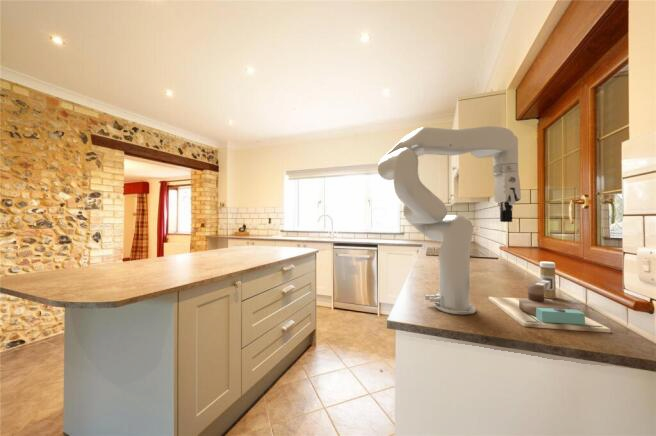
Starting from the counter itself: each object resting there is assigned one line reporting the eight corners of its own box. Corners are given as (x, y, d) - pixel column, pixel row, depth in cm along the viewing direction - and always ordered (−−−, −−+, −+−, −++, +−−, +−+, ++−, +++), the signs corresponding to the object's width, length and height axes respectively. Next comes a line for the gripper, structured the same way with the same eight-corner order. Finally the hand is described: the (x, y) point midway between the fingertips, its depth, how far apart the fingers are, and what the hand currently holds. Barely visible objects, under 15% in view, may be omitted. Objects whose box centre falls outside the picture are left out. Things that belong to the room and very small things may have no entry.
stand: (523, 326, 72) (523, 322, 72) (488, 299, 96) (488, 296, 96) (610, 332, 68) (610, 328, 68) (550, 302, 92) (550, 299, 92)
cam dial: (597, 321, 71) (597, 295, 71) (531, 316, 75) (531, 292, 75) (549, 297, 92) (549, 278, 93) (500, 295, 96) (499, 276, 96)
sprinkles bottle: (557, 297, 98) (557, 262, 98) (553, 299, 95) (553, 263, 95) (542, 294, 101) (542, 260, 101) (538, 296, 99) (537, 261, 99)
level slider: (542, 321, 72) (542, 310, 72) (536, 317, 75) (536, 306, 75) (584, 324, 70) (584, 312, 70) (576, 320, 73) (576, 309, 73)
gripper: (528, 166, 84) (529, 222, 84) (507, 174, 99) (508, 221, 99) (503, 167, 86) (503, 222, 86) (485, 174, 101) (486, 221, 101)
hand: (506, 221), depth 92 cm, fingers closed
